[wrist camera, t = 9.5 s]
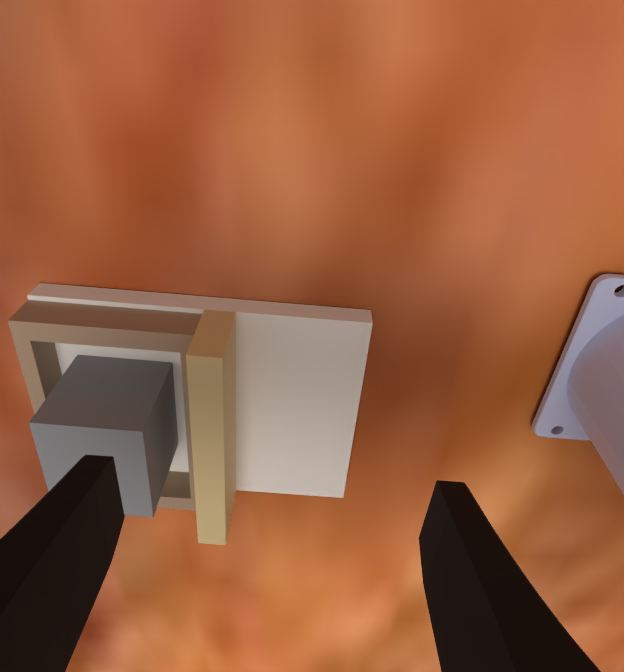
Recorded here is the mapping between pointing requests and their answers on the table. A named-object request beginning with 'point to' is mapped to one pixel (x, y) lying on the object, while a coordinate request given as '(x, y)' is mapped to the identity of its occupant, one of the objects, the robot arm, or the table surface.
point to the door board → (218, 384)
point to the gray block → (112, 425)
